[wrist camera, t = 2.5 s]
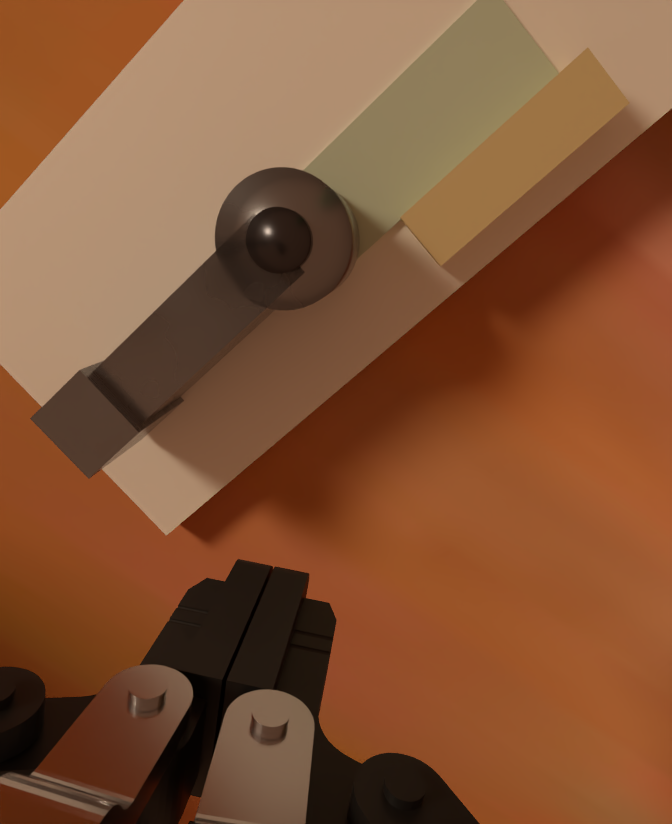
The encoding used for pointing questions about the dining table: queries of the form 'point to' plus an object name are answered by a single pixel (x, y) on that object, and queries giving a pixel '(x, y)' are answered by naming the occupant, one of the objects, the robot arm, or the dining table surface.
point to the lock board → (330, 162)
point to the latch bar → (209, 312)
